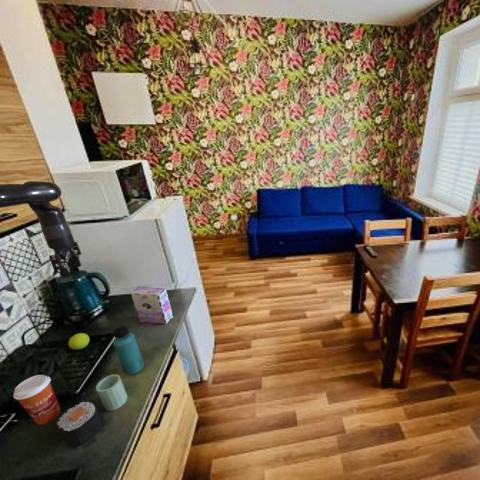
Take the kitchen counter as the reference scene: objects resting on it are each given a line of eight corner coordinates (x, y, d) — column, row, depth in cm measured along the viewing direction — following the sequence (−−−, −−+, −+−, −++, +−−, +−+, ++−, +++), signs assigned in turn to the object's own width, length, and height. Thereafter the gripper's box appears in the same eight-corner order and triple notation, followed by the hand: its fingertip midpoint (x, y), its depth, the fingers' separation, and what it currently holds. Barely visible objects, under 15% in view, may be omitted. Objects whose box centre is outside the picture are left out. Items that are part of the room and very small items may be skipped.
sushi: (91, 413, 85) (83, 396, 81) (108, 424, 82) (100, 406, 78) (60, 438, 78) (50, 420, 75) (78, 451, 75) (68, 433, 72)
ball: (68, 354, 106) (62, 342, 103) (76, 343, 112) (71, 331, 109) (87, 351, 108) (81, 339, 105) (94, 340, 113) (89, 328, 111)
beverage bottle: (149, 365, 102) (136, 323, 94) (135, 380, 96) (120, 337, 88) (134, 362, 103) (120, 321, 95) (120, 377, 97) (103, 334, 89)
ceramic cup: (101, 413, 85) (92, 393, 81) (109, 395, 90) (101, 376, 87) (123, 408, 86) (115, 388, 83) (130, 391, 92) (123, 372, 88)
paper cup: (32, 433, 79) (11, 401, 73) (30, 416, 83) (11, 384, 78) (67, 414, 84) (50, 383, 79) (63, 399, 89) (47, 368, 83)
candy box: (174, 317, 128) (166, 288, 121) (166, 325, 122) (158, 295, 116) (147, 314, 129) (139, 285, 123) (138, 322, 124) (129, 292, 117)
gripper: (57, 228, 106) (71, 264, 112) (33, 242, 94) (50, 282, 100) (79, 227, 108) (92, 262, 114) (59, 240, 96) (74, 279, 102)
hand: (72, 271), depth 107 cm, fingers open, 8 cm apart
